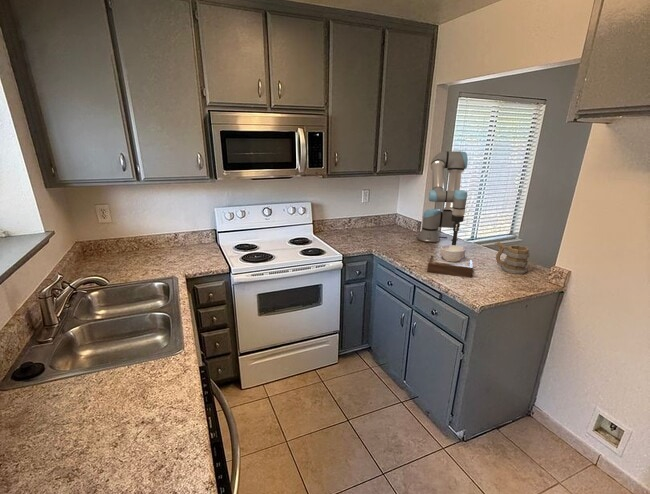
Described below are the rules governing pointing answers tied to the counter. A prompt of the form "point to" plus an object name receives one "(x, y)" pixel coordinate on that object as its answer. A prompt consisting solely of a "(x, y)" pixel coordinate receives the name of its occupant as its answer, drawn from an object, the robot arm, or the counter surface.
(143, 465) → the counter surface
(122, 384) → the counter surface
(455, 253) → the paper bowls
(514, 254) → the tankard
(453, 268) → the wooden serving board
